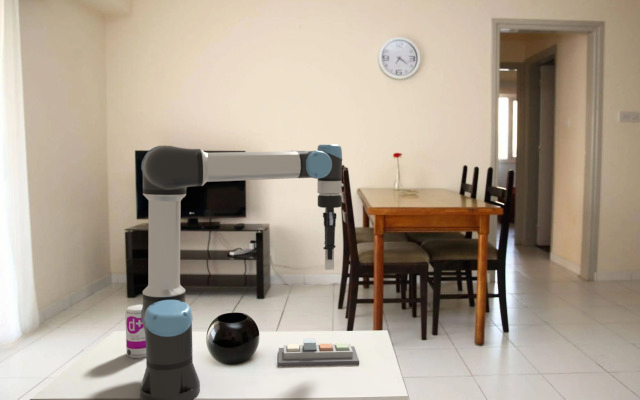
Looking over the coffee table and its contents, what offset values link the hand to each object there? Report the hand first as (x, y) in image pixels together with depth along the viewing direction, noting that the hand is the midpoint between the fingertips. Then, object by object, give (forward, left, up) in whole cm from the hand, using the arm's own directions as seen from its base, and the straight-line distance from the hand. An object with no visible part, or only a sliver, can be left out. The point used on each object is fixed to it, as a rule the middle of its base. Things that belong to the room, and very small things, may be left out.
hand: (329, 269), depth 169 cm
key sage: (+3, -6, -25) cm, 26 cm away
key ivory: (-12, -6, -25) cm, 28 cm away
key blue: (-7, -6, -23) cm, 25 cm away
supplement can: (-59, 0, -27) cm, 65 cm away
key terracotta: (-2, -6, -25) cm, 26 cm away
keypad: (-4, -6, -26) cm, 27 cm away
